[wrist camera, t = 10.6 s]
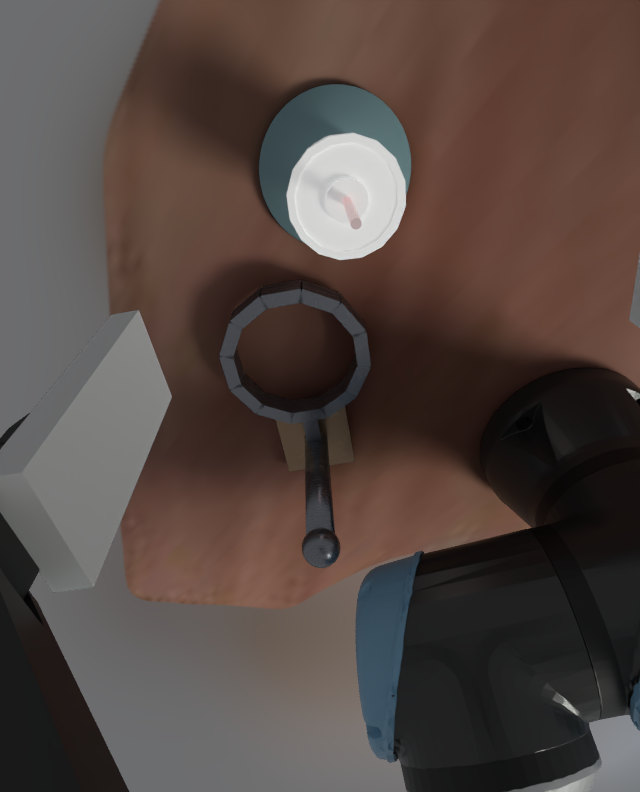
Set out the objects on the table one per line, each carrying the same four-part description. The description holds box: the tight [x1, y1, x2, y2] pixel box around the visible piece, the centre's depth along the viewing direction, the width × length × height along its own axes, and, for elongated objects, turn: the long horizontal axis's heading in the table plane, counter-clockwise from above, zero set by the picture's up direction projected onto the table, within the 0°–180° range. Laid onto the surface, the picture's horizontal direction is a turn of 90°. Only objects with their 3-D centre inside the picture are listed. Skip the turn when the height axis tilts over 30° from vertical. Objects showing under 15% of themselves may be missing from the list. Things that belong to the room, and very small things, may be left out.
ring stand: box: [219, 279, 371, 568], centre depth 36 cm, size 18×11×14 cm, turn 10°
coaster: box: [259, 84, 411, 242], centre depth 34 cm, size 10×10×1 cm
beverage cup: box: [286, 132, 406, 260], centre depth 28 cm, size 6×6×14 cm
